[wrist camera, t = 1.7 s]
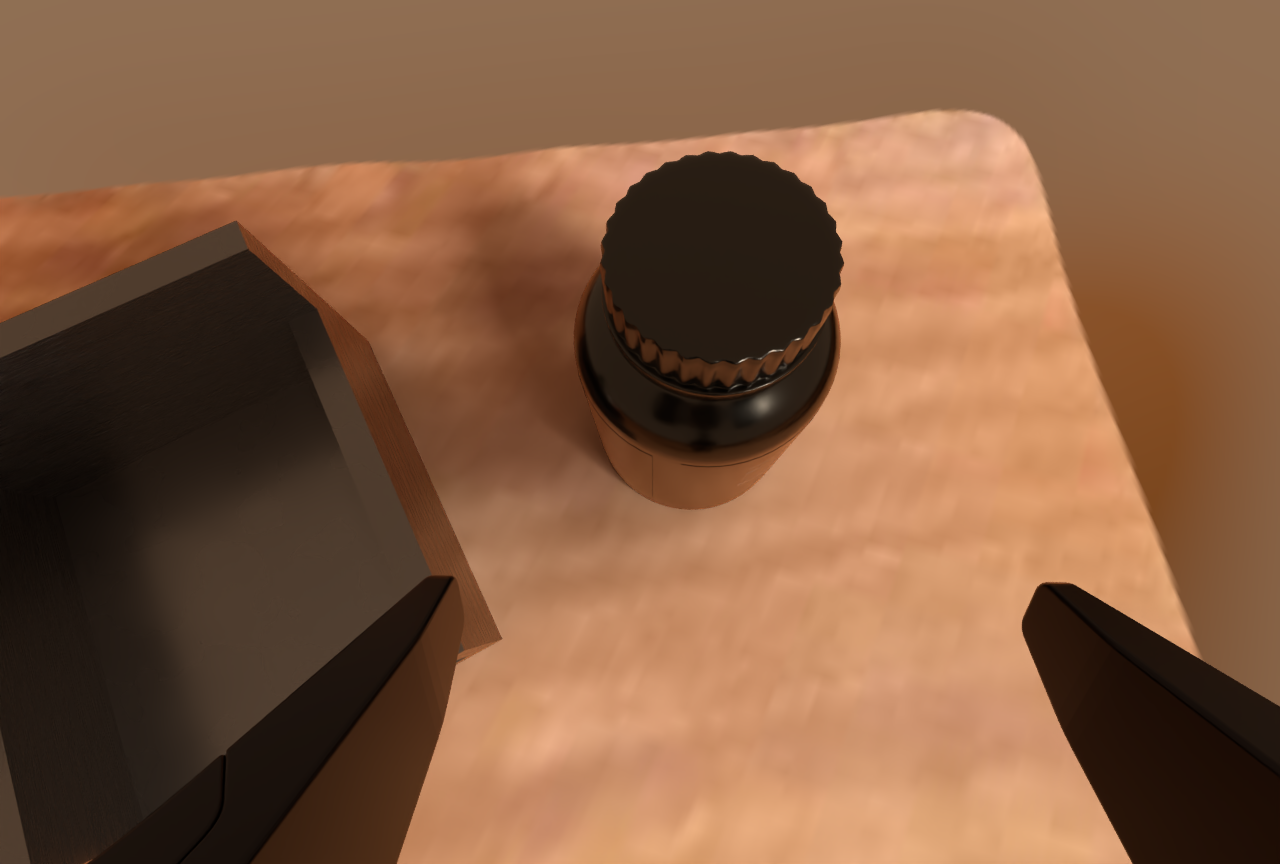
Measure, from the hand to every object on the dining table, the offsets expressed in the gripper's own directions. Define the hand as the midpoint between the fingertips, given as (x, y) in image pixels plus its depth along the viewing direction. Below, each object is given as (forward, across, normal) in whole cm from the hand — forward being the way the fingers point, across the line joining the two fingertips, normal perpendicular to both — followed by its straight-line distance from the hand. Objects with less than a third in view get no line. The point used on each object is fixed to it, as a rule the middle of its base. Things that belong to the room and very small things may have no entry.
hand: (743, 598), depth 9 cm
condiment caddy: (+8, +19, +10) cm, 23 cm away
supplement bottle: (+14, 0, +4) cm, 14 cm away
